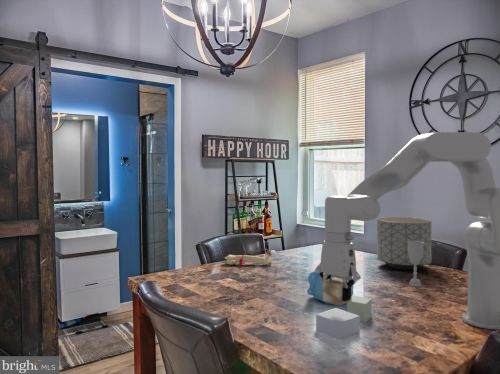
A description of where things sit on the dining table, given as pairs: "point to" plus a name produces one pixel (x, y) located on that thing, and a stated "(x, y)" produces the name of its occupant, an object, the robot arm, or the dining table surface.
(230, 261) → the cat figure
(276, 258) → the dining table surface
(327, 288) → the maple cube
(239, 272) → the dining table surface
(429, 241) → the planter
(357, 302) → the sage cube
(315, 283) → the decorative pot
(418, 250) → the chalice
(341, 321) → the base block
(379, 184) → the robot arm
